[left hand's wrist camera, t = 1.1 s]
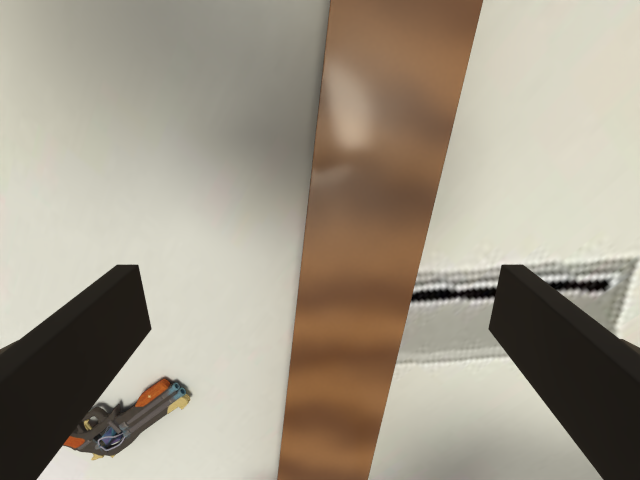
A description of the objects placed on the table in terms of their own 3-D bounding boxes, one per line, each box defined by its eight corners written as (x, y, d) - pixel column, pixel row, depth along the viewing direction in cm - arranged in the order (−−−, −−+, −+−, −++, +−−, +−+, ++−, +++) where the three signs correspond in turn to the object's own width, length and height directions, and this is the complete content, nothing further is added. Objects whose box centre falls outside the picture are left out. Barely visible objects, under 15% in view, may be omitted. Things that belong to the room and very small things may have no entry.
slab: (355, -220, 24) (366, -328, 18) (498, -196, 25) (554, -294, 19) (276, 489, 49) (270, 541, 43) (347, 495, 50) (351, 547, 44)
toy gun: (19, 433, 42) (78, 487, 44) (129, 347, 39) (188, 408, 41) (37, 417, 45) (92, 468, 46) (141, 336, 42) (196, 393, 44)
